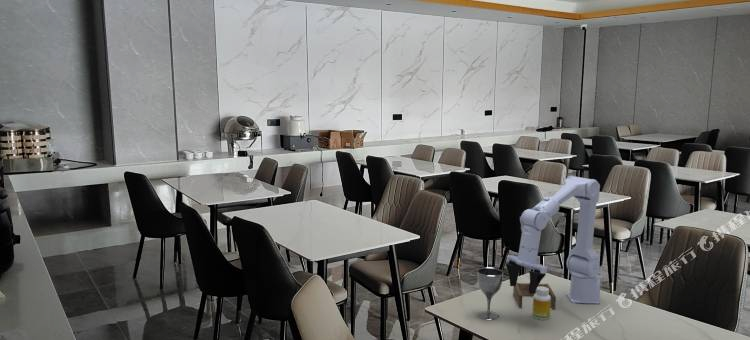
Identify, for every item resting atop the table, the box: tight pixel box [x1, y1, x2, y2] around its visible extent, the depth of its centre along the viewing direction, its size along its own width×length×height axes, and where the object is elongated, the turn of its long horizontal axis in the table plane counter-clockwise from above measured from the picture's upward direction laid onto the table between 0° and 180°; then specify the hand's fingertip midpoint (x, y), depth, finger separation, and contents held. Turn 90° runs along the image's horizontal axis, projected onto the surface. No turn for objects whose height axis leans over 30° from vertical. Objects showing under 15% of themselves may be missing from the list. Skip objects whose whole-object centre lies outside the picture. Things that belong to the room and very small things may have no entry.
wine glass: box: [477, 266, 504, 321], centre depth 188 cm, size 8×8×15 cm
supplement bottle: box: [532, 286, 551, 321], centre depth 188 cm, size 5×5×10 cm
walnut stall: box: [512, 282, 557, 310], centre depth 200 cm, size 12×12×4 cm
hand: (522, 289), depth 183 cm, fingers open, 7 cm apart
